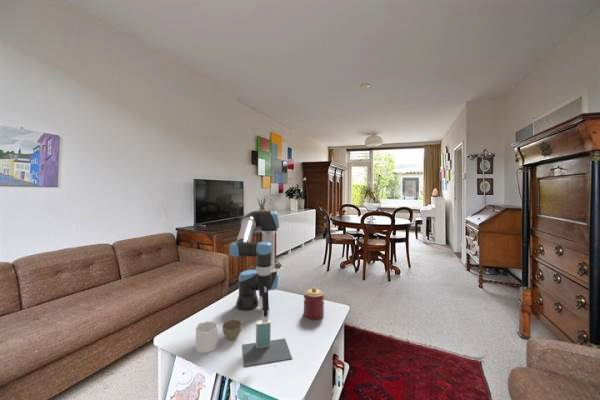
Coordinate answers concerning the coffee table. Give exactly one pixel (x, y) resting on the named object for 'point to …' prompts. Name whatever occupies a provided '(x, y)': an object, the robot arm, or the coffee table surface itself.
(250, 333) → the coffee table surface
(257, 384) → the coffee table surface
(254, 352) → the mat
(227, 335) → the flower pot
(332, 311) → the coffee table surface
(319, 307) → the canister
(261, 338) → the slab
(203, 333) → the mug
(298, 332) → the coffee table surface
